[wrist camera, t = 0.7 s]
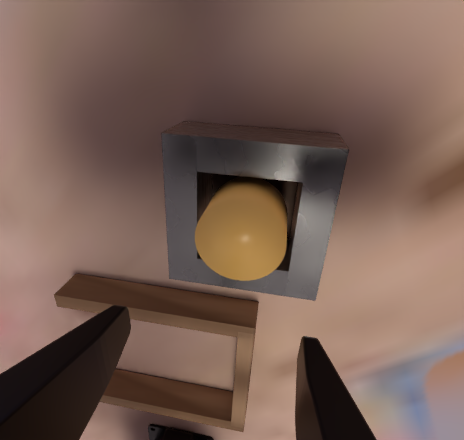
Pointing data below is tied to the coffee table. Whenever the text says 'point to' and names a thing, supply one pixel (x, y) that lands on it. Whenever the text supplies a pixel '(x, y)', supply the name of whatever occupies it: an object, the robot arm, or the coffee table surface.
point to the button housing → (259, 166)
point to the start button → (243, 229)
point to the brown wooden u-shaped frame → (179, 315)
